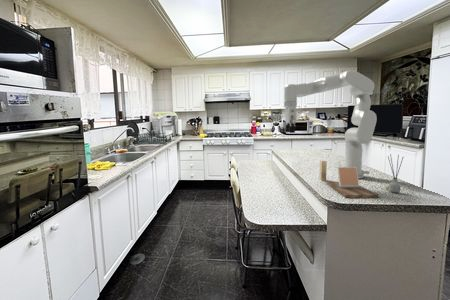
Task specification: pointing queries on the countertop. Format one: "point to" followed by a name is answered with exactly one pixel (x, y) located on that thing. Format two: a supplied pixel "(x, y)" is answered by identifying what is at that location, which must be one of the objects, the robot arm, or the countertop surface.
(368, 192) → the board
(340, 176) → the tile
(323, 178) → the trowel
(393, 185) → the reed diffuser
